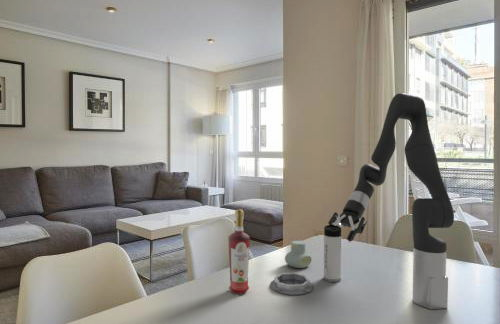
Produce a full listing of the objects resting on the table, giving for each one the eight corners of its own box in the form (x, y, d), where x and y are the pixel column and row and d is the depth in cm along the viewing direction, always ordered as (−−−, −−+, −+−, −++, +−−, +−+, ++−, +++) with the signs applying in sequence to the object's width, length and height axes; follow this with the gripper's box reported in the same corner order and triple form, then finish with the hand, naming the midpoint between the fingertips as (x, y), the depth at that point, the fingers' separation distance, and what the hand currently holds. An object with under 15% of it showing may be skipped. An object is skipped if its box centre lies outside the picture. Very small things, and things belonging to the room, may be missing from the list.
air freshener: (296, 271, 136) (296, 246, 136) (281, 266, 143) (281, 242, 142) (314, 265, 143) (314, 242, 143) (299, 260, 150) (299, 238, 149)
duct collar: (319, 293, 116) (319, 286, 116) (276, 296, 113) (276, 289, 113) (304, 277, 130) (304, 270, 130) (266, 279, 128) (266, 272, 128)
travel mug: (339, 276, 132) (339, 224, 131) (342, 282, 125) (342, 228, 124) (322, 275, 132) (323, 224, 131) (324, 282, 126) (325, 227, 125)
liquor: (230, 297, 113) (230, 212, 112) (226, 288, 120) (226, 208, 119) (252, 294, 115) (252, 211, 114) (246, 286, 122) (246, 207, 121)
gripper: (337, 197, 141) (319, 228, 134) (369, 201, 130) (351, 236, 123) (345, 208, 145) (328, 239, 138) (376, 213, 134) (359, 247, 127)
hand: (339, 238), depth 131 cm, fingers open, 8 cm apart
